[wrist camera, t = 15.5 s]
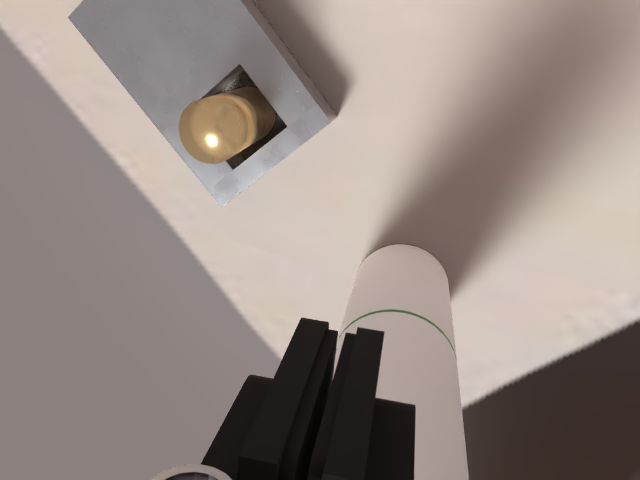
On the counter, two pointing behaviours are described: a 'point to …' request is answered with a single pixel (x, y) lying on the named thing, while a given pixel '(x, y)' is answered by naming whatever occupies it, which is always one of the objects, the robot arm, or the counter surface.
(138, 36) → the jig plate
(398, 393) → the cylindrical container
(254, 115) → the tan cylindrical peg
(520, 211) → the counter surface
